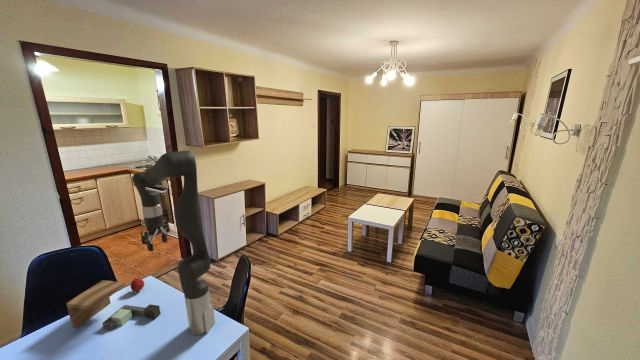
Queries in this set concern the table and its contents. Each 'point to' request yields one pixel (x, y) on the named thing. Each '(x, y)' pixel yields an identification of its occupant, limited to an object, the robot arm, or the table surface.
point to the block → (121, 317)
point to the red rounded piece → (137, 284)
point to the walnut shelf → (91, 301)
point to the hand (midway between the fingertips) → (158, 246)
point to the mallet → (147, 312)
